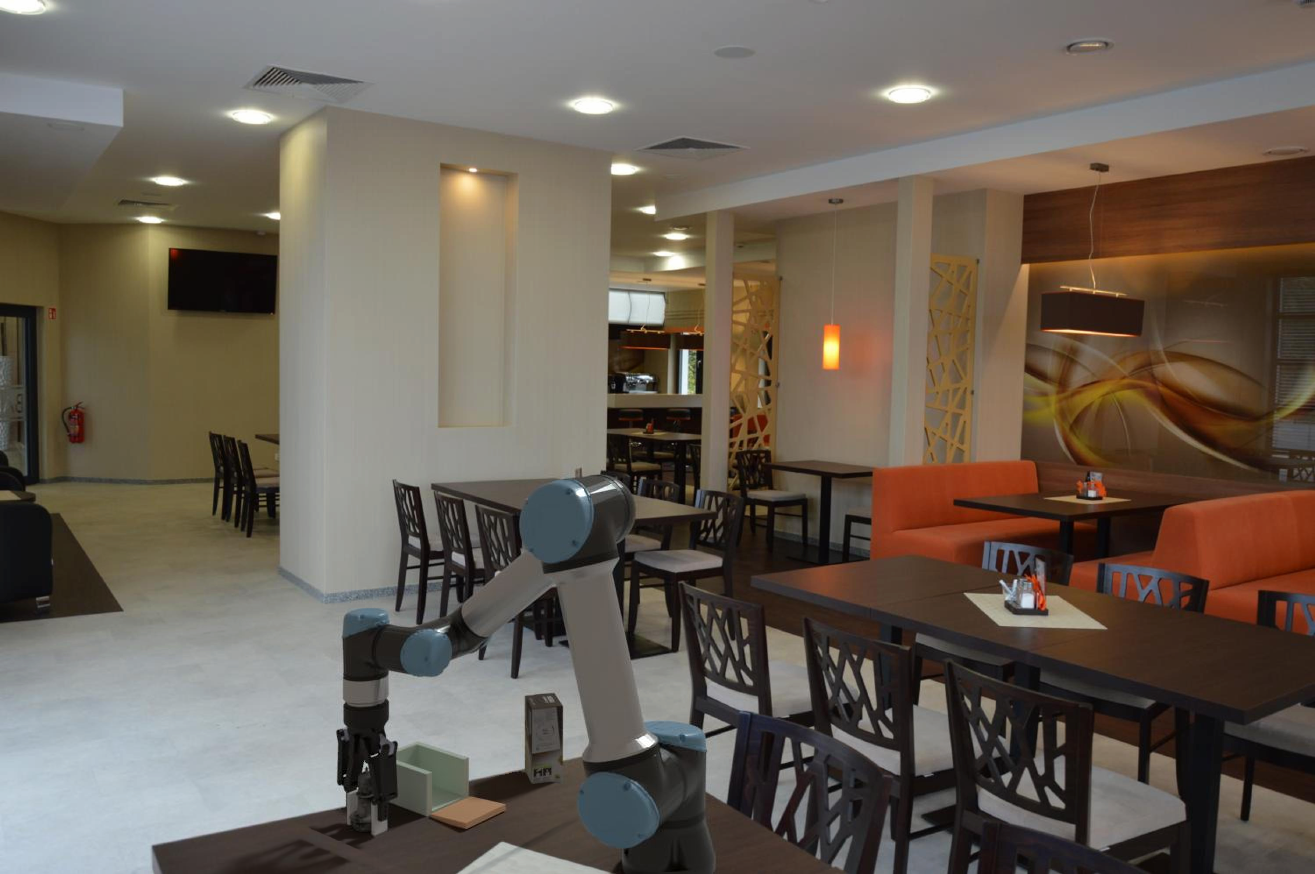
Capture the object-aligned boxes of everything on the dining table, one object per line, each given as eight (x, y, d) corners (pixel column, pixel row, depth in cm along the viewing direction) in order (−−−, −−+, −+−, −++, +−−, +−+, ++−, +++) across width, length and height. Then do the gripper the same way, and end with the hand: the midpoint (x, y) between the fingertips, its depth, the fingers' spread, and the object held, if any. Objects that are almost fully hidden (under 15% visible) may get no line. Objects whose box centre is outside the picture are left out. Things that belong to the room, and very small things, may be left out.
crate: (468, 805, 183) (468, 757, 183) (426, 824, 175) (426, 774, 175) (417, 787, 191) (417, 741, 191) (375, 804, 183) (375, 756, 183)
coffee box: (564, 787, 192) (564, 705, 191) (531, 791, 190) (531, 708, 189) (554, 770, 201) (554, 691, 200) (523, 773, 199) (523, 694, 198)
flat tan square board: (470, 801, 183) (506, 809, 177) (430, 819, 175) (466, 828, 169) (470, 796, 183) (505, 804, 177) (430, 813, 175) (465, 823, 169)
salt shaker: (374, 844, 167) (374, 774, 167) (342, 840, 168) (342, 771, 168) (390, 829, 173) (390, 761, 172) (360, 825, 174) (359, 758, 174)
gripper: (420, 705, 167) (421, 839, 168) (349, 685, 178) (350, 811, 179) (384, 716, 161) (385, 856, 162) (313, 695, 172) (314, 826, 173)
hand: (367, 832), depth 171 cm, fingers closed on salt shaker, 6 cm apart
